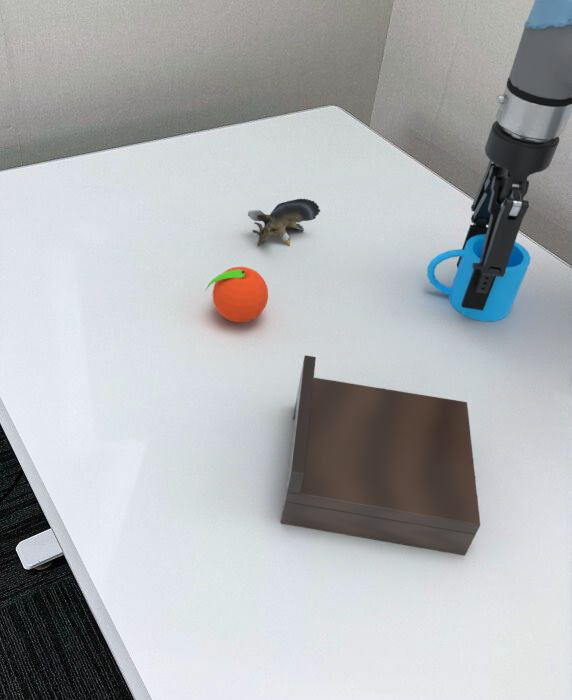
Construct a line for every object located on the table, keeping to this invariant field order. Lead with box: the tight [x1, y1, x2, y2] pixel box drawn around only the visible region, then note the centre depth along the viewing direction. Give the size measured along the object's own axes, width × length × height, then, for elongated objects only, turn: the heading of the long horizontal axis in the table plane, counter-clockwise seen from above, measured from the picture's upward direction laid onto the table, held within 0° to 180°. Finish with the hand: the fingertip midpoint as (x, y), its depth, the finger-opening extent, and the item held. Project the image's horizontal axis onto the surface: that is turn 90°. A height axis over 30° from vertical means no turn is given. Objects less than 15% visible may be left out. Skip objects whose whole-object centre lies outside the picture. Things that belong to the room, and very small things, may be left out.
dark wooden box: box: [280, 355, 481, 556], centre depth 78 cm, size 18×16×8 cm
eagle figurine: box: [247, 198, 321, 247], centre depth 110 cm, size 8×7×9 cm
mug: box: [426, 234, 531, 323], centre depth 102 cm, size 12×8×8 cm
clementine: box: [204, 266, 269, 323], centre depth 96 cm, size 8×7×7 cm
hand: (469, 286), depth 103 cm, fingers closed on mug, 8 cm apart
